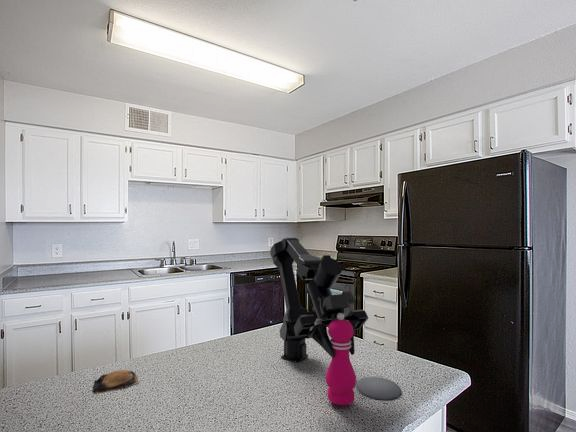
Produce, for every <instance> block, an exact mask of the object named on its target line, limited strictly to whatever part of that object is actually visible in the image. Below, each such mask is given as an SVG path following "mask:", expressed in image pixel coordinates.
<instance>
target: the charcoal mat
mask: <svg viewBox="0 0 576 432" xmlns="http://www.w3.org/2000/svg"><path fill="white" fill-rule="evenodd" d="M355 387H356V390H357V391H358V392H359V393H360V394H361V395H363V396H365V397H368V398H370V399H373V400H374V399H375V400H380V401H389V400H394V399H396V398H398V397H400V395H401V387H400V386H399V384H397V383H396V382H395V381H393V380H390V379H388V378H383V377H378V376H367V377H363V378H360V379H358V380H356V385H355Z"/></svg>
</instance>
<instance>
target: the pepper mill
mask: <svg viewBox="0 0 576 432" xmlns="http://www.w3.org/2000/svg"><path fill="white" fill-rule="evenodd" d="M344 317H345V314H344V313H338V314H337V319H335V320H333V321H332V322H331V323H330V324H329V326H328V327H327V334H328V336H329V338H330V342H331V344H332V347H333V350H334V353H335V357H334V358H332V357H331V360H330V363H329V365H328V368H327V370H326V373H325V384H326V385H327V386H328V388H327V399H328V401H329V402H331V403H332V404H334V405H339V406H345V405H346V406H347V405H350V404H352V403H354V402H355V391H354V388H355V387H356V384H357V375H356V372H355V370H354V367H353V364H352V363H351V358H350V352H349V349H350V348H351V340H350V339H351V337H352V336H353V326H352V325H351V323H350V322H349V321H347V320H345V319H344Z"/></svg>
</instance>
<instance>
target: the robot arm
mask: <svg viewBox="0 0 576 432" xmlns="http://www.w3.org/2000/svg"><path fill="white" fill-rule="evenodd" d="M305 248H306V247H304V246H303V245H302V244H301V243H300V239H299V238H298V237H297V238H296V237H284V238H283V239H281V241H277V242H275V243H274V244H273V245H272V246H271V248H270V249H269V250H270V258H271V259H272V263H273V265H274V266H275V267H276V268H277V269H278V270H279V276H280V281H281V287H282V291H283V293H282V294H283V298H284V303H285V309H286V310H285V312H284V313H285V314H284V315H283V319H282V321H283V322H282V324H281V327H280V328H279V337H280V338H281V339H282V340H283V354H282V355H281V356H280V359H283V360H287V361H291V362H295V363H300V362H301V361H303V360H304V359H306V358H307V357H308V356H309V355H308V353H307V343H306V339H307V340H308V339H313V341H314V342H316V343H317V344H318V345H319V346H321V347H322V349H323V350H324V351H325V352H326V353H327V354H328V355H329V356H330V357H331V359H332V358H334V357H335V353H334V350H333V347H332V344H331V342H330V340H331V338H330V336H329V333H328V327H329V324H330V323H331V322H332V321H333V320H335V319H337V314H338V313H343V314H344V313H345V310H344V309H346V308H350V307H351V306H350V305H354V303H355V298H354V295H353V294H352V293H353V292H352V291H351V290H349V291H344V292H342V293H340V294H339V293H337V294H333V292H332V289H331V288H333V287H334V286H335V284H336V282H337V281H338V279H339V278H340V276H341V274H342V272H343V266H342V264H341V263H340V262H339V261H338V260H336V259H334V258H332V257H331V255H330V254H327V255H326V254H323V255H322V257H321V258H320V257H318V256H316V255H312V254H310V252H308V251H307V250H306V249H305ZM294 262H295V263H296V266H297V270H296V272H297V275H298V276H299V278H300V279H301V280H302V281H308V280H309V282H308V283H307V286H306V289H305V293H306V294H309V296H310V299H311V302H312V305H313V306H312V308H311V309H312V312H315V313H316V316H317V318H316V316H315V314H313V313H312V314H309V313H308V312H309V311H308V309H307V308H305V307H303V306H302V305H301V301H300V297H299V292H298V287H297V281H296V276H295V273H294V272H295V271H294V268H293V264H294ZM344 319H345V320H347V321H349V322H350V323H351V325H352V326H353V336H352V337H351V339H350V340H351V348H350V349H349V354H350V355H352V356H353V355H354V354H355V353H356V351H355V330H360V329H362V327H363V326H364V324H366V322H367V321H368V320H369V316H368V314H367V312H366V311H365V310H363V309H354V310H350V312H349V313H348V314H347V316H345V315H344Z"/></svg>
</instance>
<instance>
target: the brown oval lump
mask: <svg viewBox="0 0 576 432" xmlns="http://www.w3.org/2000/svg"><path fill="white" fill-rule="evenodd" d="M138 384H140V382H139V378H138V376H137V373H136V372H134V371H132V370H128V369H120V370H119V369H118V370H114V371H111V372H108V373H106V374H102V375H100V377H98V378H97V380H94V382H93V385H92V391H93V393H94V394H99V393H104V392H111V391H115V390H119V389H123V388H124V389H125V388H127V387H131V386H135V385H138Z"/></svg>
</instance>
